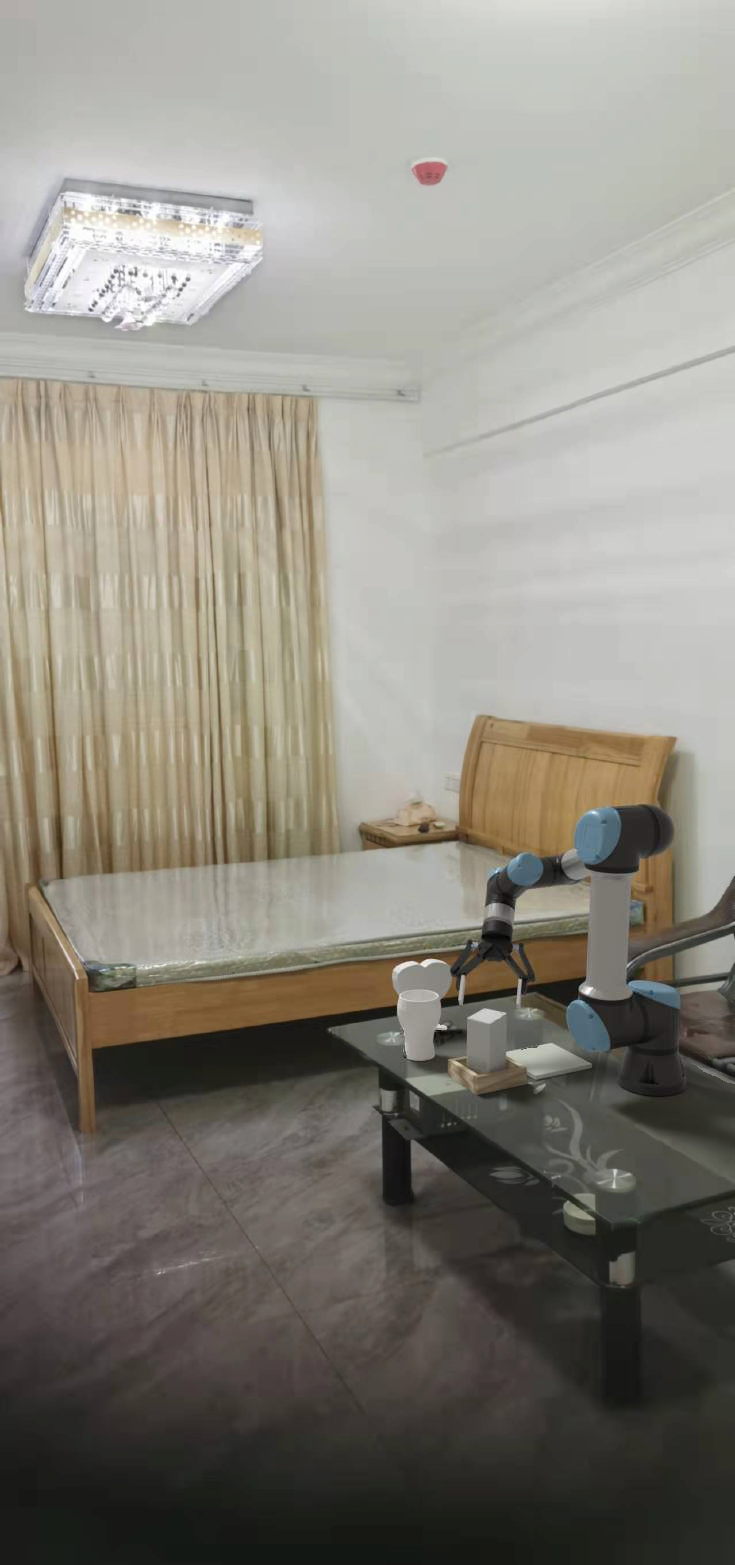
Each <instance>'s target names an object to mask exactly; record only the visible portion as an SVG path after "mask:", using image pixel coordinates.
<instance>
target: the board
mask: <svg viewBox="0 0 735 1565" xmlns="http://www.w3.org/2000/svg"><path fill="white" fill-rule="evenodd" d="M537 1046H538V1045H537ZM526 1048H527V1049H523V1048H518V1049H513V1050H509V1051H506V1056H508V1057H510V1058H511V1059H513V1060H515V1061H517V1062H518V1063H520V1064H522V1065H524V1066H525V1067H527V1077H530V1078H531V1079H534V1080H535V1081H536V1080H537V1081H538V1080H541V1079H546V1078H551V1077H555V1076H560V1075H565V1074H570V1073H574V1072H579V1071H584V1070H588V1069H593V1068H592V1067H593V1064H592V1063H591V1062H590V1061H587V1060H585V1059H583V1058H581V1057H580V1056H577V1055H576V1054H573V1053H572V1052H570V1051H568V1050H566V1049H564V1048H563V1047H561V1046H559V1045H557V1044H554V1043H553V1042H549V1043H545V1044H539V1046H538V1047H537V1048H528V1047H526ZM521 1049H523V1050H521Z"/></svg>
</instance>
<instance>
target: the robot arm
mask: <svg viewBox="0 0 735 1565" xmlns="http://www.w3.org/2000/svg"><path fill="white" fill-rule="evenodd" d="M573 834H574V835H573V845H574V848H572V849H570V850H567V851H565V852H562V853H561V854H557V855H551V856H537V855H536V854H534V853H530V852H522V853H519V854H518V855H517V856H516V857H514V858H513V859H511V860H510V862H508V864H507V865H506V866H499V867H497V868H493V869H491V871H490V872H489V874H488V878H487V882H486V892H485V903H484V910H483V917H482V926H481V934H480V936H481V937H480V940H479V942H476V941H473V940H472V939H468V940H467V941H466V945H465V948H464V949H463V950H462V952H461V953H460V954H459V956H458V957H457V958H456V960H455V961H454V963H453V964H452V966H451V968H450V973H451V976H452V978H454V977H455V978H456V981H455V989H456V991H457V992H458V997H457V998H458V1004H459V1006H464V1004H463V1003H464V997H465V990H466V981H467V980H466V976H468V975H469V974H470V973H471V972H472V971H473V970H475V969H476V968H477V967H478V966H479V965H480V964H482V963H484V962H485V961H487V962H496V963H501V962H503V961H504V963H505V964H506V965H507V966H509V968H510V969H511V970H512V971H513V973H514V974H515V975H516V977H518V982H517V992H516V994H517V995H516V1002H515V1006H516V1009H517V1010H521V1005H522V997H523V996H526V995H527V991H528V983H535V981H536V974H535V972H534V970H533V966H531V963H530V961H529V958H528V957H527V954H526V953H525V946H524V943H523V942H521V941H520V942H519V943H518V944H513V932H514V928H513V927H514V925H515V924H514V923H515V913H516V903H517V900H518V898H520V897H521V896H522V895H523V894H524V893H526V891H529V890H534V889H535V890H536V889H542V888H543V889H544V888H551V887H557V886H558V887H559V886H567V885H568V886H572V885H576V884H581V883H583V882H585V881H586V878H587V877H589V876H590V888H589V890H590V891H589V892H590V893H589V910H588V911H589V912H588V934H587V953H586V954H587V957H586V974H585V975H586V977H585V978H586V979H585V981H584V982H582V983H581V984H580V985H579V987H578V997H577V999H574V1000H573V1001H571V1002H570V1003H569V1005H568V1006H567V1009H566V1013H565V1014H566V1015H565V1016H566V1017H565V1018H566V1024H567V1027H568V1030H569V1033H570V1035H571V1037H572V1039H573V1040H574V1042H575V1043H576V1045H578V1046H579V1048H581V1049H582V1050H583V1051H586V1052H588V1053H599V1052H600V1053H601V1052H604V1053H605V1052H608V1051H611V1050H617V1049H620V1048H625V1051H624V1053H623V1056H622V1060H621V1063H620V1066H619V1067H618V1069H617V1079H616V1080H617V1083H618V1085H619V1086H620V1087H621V1088H623V1089H625V1090H627V1091H629V1092H632V1093H635V1094H639V1095H644V1096H645V1095H646V1096H654V1097H656V1096H657V1097H664V1096H665V1097H666V1096H672V1095H677V1094H680V1093H682V1092H683V1091H684V1090H685V1089H686V1086H687V1076H686V1072H685V1070H684V1066H683V1062H682V1059H681V1056H680V1049H679V1048H680V1027H681V1010H682V1006H681V995H680V993H679V991H678V990H677V989H676V988H675V987H673V986H671V985H668V984H665V983H660V982H655V981H651V980H642V979H641V980H639V979H638V980H637V979H636V980H632V981H629V982H628V984H627V969H628V956H629V955H628V954H629V951H628V950H629V931H630V916H631V915H630V913H631V896H632V895H631V894H632V893H631V892H632V878H633V877H634V876H635V875H637V874H638V873H639V872H640V860H644V859H648V858H649V859H650V858H651V857H655V856H658V855H661V854H663V853H665V852H666V851H667V850H669V848H670V846H672V843H673V841H674V838H675V824H674V822H673V820H672V818H671V817H670V815H669V814H668V813H667V812H666V811H665V810H664V809H663V808H660V807H659V806H657V805H654V804H647V803H642V804H633V805H631V804H630V805H618V806H617V805H615V806H614V805H613V806H603V807H599V808H593V809H591V810H588V811H585V813H584V814H583V815H582V816H581V817H580V818H579V819H578V821H577V823H576V826H575V829H574V832H573ZM476 949H478V950H479V951H478V952H477V953H476V955H475V956H473V957H472V959H470V960H469V961H468V962H467V960H468V959H469V958H470V956H471V955H472V952H474V951H476ZM513 951H515V953H516V954H517V955H519V958H520V961H521V963H522V965H523V967H524V970H525V972H526V973H525V972H524V970H522V968H521V967H520V965H518V963H517V962H516V961H515V959H514V958H513V957H512V955H511V953H512V952H513ZM466 962H467V963H466Z"/></svg>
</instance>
